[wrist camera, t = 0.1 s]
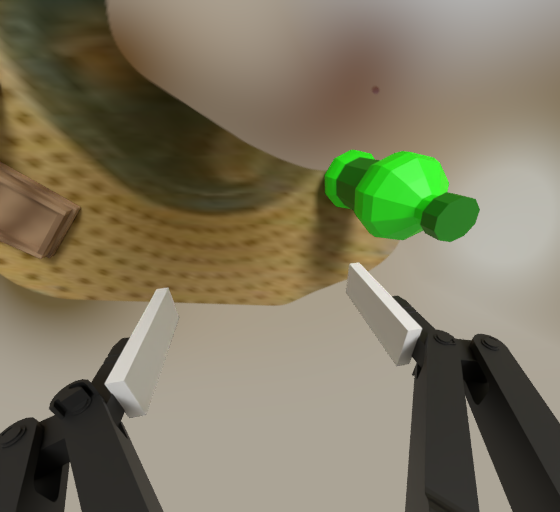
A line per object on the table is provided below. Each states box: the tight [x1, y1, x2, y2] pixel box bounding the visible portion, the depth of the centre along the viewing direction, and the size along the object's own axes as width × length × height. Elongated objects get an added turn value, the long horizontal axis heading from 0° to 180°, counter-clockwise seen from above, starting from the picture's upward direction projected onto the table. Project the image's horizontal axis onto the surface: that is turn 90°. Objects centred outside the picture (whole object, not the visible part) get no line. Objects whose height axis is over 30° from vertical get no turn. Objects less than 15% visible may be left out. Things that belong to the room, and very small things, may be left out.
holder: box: [0, 162, 81, 259], centre depth 35 cm, size 12×12×2 cm
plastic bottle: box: [325, 150, 480, 242], centre depth 30 cm, size 10×10×25 cm
